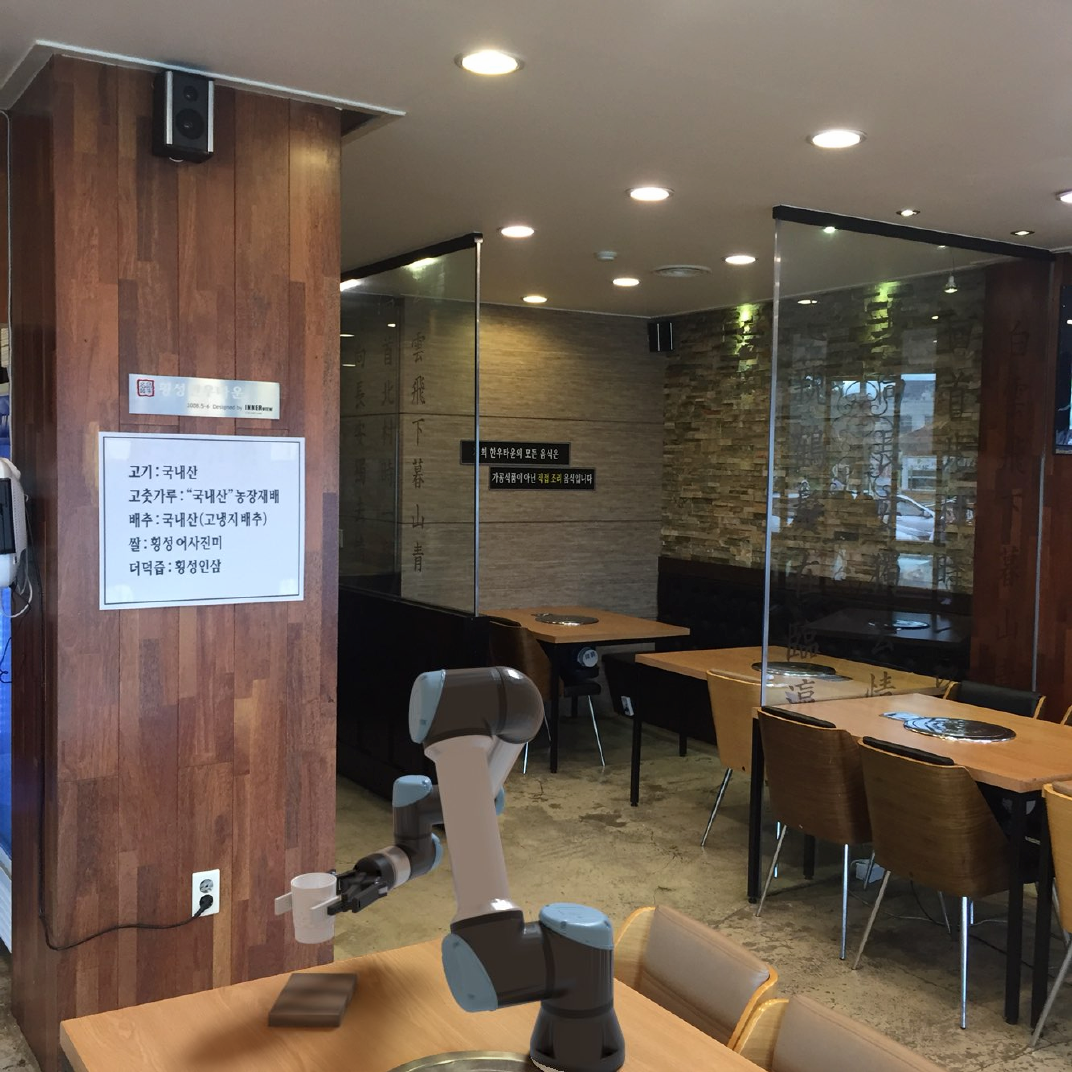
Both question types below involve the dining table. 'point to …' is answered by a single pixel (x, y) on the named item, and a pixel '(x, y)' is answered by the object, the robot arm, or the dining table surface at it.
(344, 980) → the walnut board
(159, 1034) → the dining table surface
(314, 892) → the white cup
